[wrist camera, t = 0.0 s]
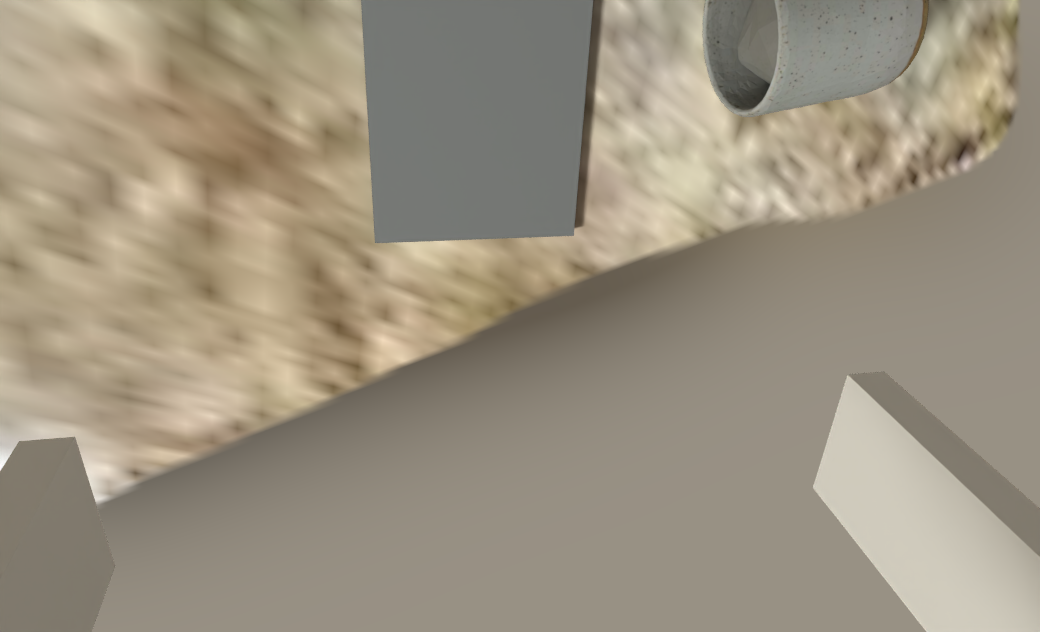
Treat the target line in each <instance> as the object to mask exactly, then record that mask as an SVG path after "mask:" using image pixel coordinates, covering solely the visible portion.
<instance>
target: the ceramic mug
mask: <svg viewBox="0 0 1040 632" xmlns="http://www.w3.org/2000/svg"><path fill="white" fill-rule="evenodd" d="M927 17H928V0H705V7H704V16H703V47H704V57H705V63H706V66H707V70H708V74H709V78H710V81H711V84H712V86H713V88H714V91H715V92H716V94H717V96H718V97H719V99H720V101H721V102H722V103H723V104H724V105H725V107H726V108H728V109H729V110H730V111H731V112H733V113H734V114H737V115H739V116H743V117H754V116H759V115H763V114H768V113H773V112H778V111H782V110H788V109H793V108H799V107H803V106H808V105H813V104H818V103H822V102H827V101H833V100H839V99H844V98H849V97H854V96H857V95H862V94H865V93H868V92H871V91H873V90H876V89H878V88H881V87H883V86H885V85H887V84H889V83H891V82H892V81H893V80H895V79H896V78H898V77H899V76H900V75H901V74H902V73H903V72H904V71H905V70H906V69H907V68H908V67H909V65H910V64H911V62H912V61H913V59H914V58H915V56H916V54H917V53H918V51H919V48H920V46H921V43H922V40H923V38H924V34H925V30H926V25H927Z"/></svg>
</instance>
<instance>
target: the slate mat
mask: <svg viewBox="0 0 1040 632" xmlns="http://www.w3.org/2000/svg"><path fill="white" fill-rule="evenodd" d="M361 5H362V22H363V40H364V57H365V75H366V92H367V110H368V127H369V145H370V162H371V180H372V197H373V215H374V232H375V243H391V242H418V241H444V240H471V239H498V238H524V237H551V236H574V226H575V214H576V202H577V190H578V178H579V166H580V154H581V142H582V130H583V118H584V106H585V94H586V82H587V70H588V58H589V46H590V34H591V22H592V9H593V0H361Z"/></svg>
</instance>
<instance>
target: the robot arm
mask: <svg viewBox="0 0 1040 632" xmlns="http://www.w3.org/2000/svg"><path fill="white" fill-rule="evenodd" d="M813 488H814V489H815V491H816V492H817V493H818V495H819V496H820V497H821V499H822V500H823V501H824V502H825V504H827V506H828V507H829V509H830V510H831V511H832V512H833V514H834V515H835V516H836V517H837V518H838V520H839V521H840V523H841V524H842V525H843V526H844V528H845V529H846V530H847V531H848V533H849V534H850V535H851V536H852V538H853V539H854V540H855V542H856V543H857V544H858V545H859V547H860V548H861V549H862V550H863V552H864V553H865V554H866V556H867V557H868V558H869V559H870V561H871V562H872V563H873V564H874V566H875V567H876V568H877V570H878V571H879V572H880V573H881V575H882V576H883V577H884V578H885V580H886V581H887V582H888V583H889V585H890V586H891V587H892V589H893V590H894V591H895V592H896V594H897V595H898V596H899V597H900V599H901V600H902V601H903V603H904V604H905V605H906V606H907V608H908V609H909V610H910V611H911V613H912V614H913V615H914V616H915V618H916V619H917V620H918V622H919V623H920V624H921V625H922V627H923V628H924V629H925V630H926V631H927V632H1040V508H1039V507H1037V506H1036V505H1035V504H1034V503H1033V502H1032V501H1031V500H1030V499H1028V498H1027V497H1026V496H1025V495H1024V494H1023V493H1022V492H1020V491H1019V490H1018V489H1017V488H1016V487H1015V486H1014V485H1012V484H1011V483H1010V482H1009V481H1008V480H1007V479H1006V478H1005V477H1003V476H1002V475H1001V474H1000V473H999V472H997V470H995V469H994V468H993V467H992V466H991V465H990V464H989V463H987V462H986V461H985V460H984V459H983V458H982V457H981V456H979V455H978V454H977V453H976V452H975V451H974V450H973V449H971V448H970V447H969V446H968V445H967V444H966V443H965V442H963V441H962V440H961V439H960V438H959V437H958V436H957V435H956V434H954V433H953V432H952V431H951V430H950V429H949V428H948V427H946V426H945V425H944V424H943V423H942V422H941V421H940V420H938V419H937V418H936V417H935V416H934V415H933V414H932V413H931V412H929V411H928V410H927V409H926V408H925V407H924V406H923V405H921V404H920V403H919V402H918V401H917V400H916V399H915V398H914V397H912V396H911V395H910V394H909V393H908V392H907V391H906V390H904V389H903V388H902V387H901V386H900V385H899V384H898V383H896V382H895V381H894V380H893V379H892V378H891V377H890V376H889V375H887V374H886V373H885V372H875V373H862V374H849V375H847V378H846V382H845V385H844V388H843V391H842V395H841V398H840V401H839V405H838V408H837V411H836V414H835V418H834V421H833V424H832V428H831V431H830V434H829V437H828V440H827V444H826V447H825V450H824V454H823V457H822V460H821V463H820V467H819V470H818V473H817V476H816V480H815V483H814V486H813ZM114 568H115V563H114V561H113V557H112V554H111V550H110V547H109V544H108V541H107V538H106V534H105V531H104V528H103V525H102V522H101V519H100V516H99V512H98V509H97V506H96V502H95V499H94V496H93V493H92V490H91V486H90V483H89V480H88V477H87V474H86V471H85V467H84V464H83V461H82V458H81V455H80V451H79V448H78V445H77V442H76V439H75V437H68V438H55V439H43V440H30V441H19V442H18V444H17V446H16V447H15V449H14V450H13V452H12V454H11V455H10V457H9V458H8V460H7V462H6V463H5V465H4V466H3V468H2V470H1V471H0V632H92V629H93V627H94V624H95V621H96V618H97V616H98V613H99V610H100V607H101V604H102V602H103V599H104V596H105V593H106V591H107V588H108V585H109V582H110V580H111V576H112V574H113V571H114Z"/></svg>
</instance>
